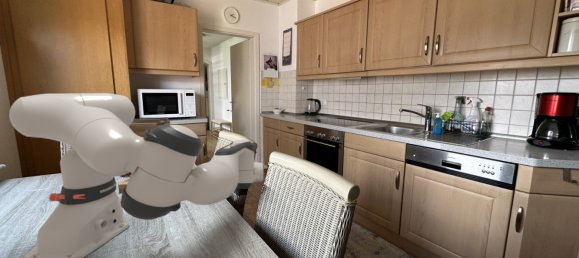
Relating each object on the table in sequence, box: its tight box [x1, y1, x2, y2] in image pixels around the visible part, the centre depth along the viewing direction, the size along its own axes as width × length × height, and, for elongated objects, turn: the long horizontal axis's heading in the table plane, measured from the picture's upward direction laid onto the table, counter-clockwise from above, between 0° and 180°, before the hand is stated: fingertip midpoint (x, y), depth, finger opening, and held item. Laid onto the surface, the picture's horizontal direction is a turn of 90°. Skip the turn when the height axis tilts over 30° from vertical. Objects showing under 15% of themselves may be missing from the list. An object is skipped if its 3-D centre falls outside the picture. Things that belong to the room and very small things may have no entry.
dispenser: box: [128, 116, 171, 138], centre depth 111 cm, size 11×12×28 cm
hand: (190, 173), depth 102 cm, fingers open, 8 cm apart
